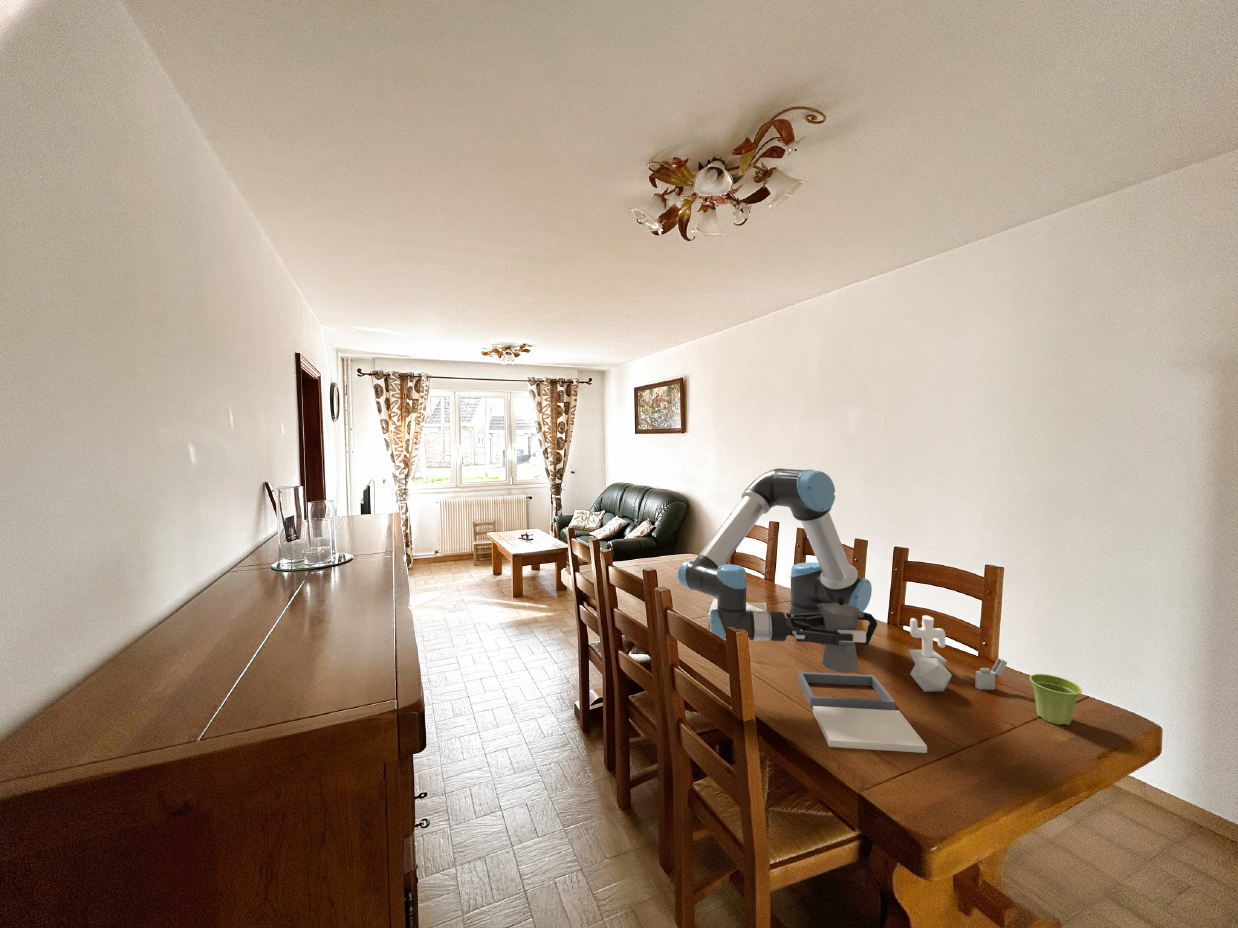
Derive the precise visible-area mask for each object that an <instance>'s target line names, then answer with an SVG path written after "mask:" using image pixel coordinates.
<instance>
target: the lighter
mask: <svg viewBox="0 0 1238 928" xmlns="http://www.w3.org/2000/svg"><path fill="white" fill-rule="evenodd" d="M1007 665H1008V662H1007V661H1006V660H1004V659H1002V658H1000V657H998V658H997V659H996V661H995V663H994V665H993V666H992V668H991V669H990V668H989V667H980V669H979V670H975V678H974V679H975V681H974V682H975V685H974V686H975V687H974V688H977V689H978V690H989V691H991V690H995V689H996V688H995V687H996V675H997V676H999V677H1000V676H1002V673H1003V671H1004V669H1005V668H1006V666H1007Z"/></svg>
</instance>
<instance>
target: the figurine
mask: <svg viewBox="0 0 1238 928" xmlns="http://www.w3.org/2000/svg"><path fill="white" fill-rule="evenodd" d="M921 618H922V619H921V625H922V626H921V627H918V620H917V619H916V618H914V617H911V618H910V621H909V633H910V636H911V637H913V638H914V639H916V638H917V639H921V649H908V653H909V654H910V657H911V658H912V660H913V662H914V665H915V664H916V662H917V660H918V659H922V658H937V659H938V660H939V661H940V662H941V664H942V665H943V666H944V665H945V664H946V663H947V662H948V660H947V659H945V658H944V657H943V656H942V655H940V654H939V653H938V652H936V651H935V650H934V646H933V645H934V639H937V646H938V647H939V648H941V649H942V648H944V649H945V647H946V632H945V630H944V629H943V628H938V627H937V628H936V627H935V628H934V623H935V622H934V621H935V619H934V617H932V616H930V615H928V614H927V615H926V614H925V615H922V617H921Z"/></svg>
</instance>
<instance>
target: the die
mask: <svg viewBox="0 0 1238 928" xmlns="http://www.w3.org/2000/svg"><path fill="white" fill-rule="evenodd" d="M909 675H910V676H911V677H912V678H913V680H914V681H915V682H916V683H917V684H918V686H919V687H920V689H922V691H923V692H925V693H927V692H928V693H929V692H930V693H931V692H933V693H934V692H944V691H945V689H946V688H947V685H948V684H949V682H950V680H951V678H952V676H953V675H952V674H951V673H950V672H949V670H948V669H947V668H946V667H945V666H944V665H942V664H941V662H940V661H939V660H938V659H937V658H922V659H918V660H917V662H916V664H915V663H914V666H913V668H912V670H911V672H910V674H909Z"/></svg>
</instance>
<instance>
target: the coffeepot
mask: <svg viewBox="0 0 1238 928" xmlns="http://www.w3.org/2000/svg"><path fill="white" fill-rule="evenodd" d="M838 600H839V603H830V604H828V603H819V604H817V605H816V606H817V607H818V608H819V609H820V611H821V613H822V615H823V617H824V622H825V629H827V630H832V631H837V632H838V630H858V625H859V620H862V621H868V627H867V630H866V643H865V642H859V643H860V644H861V645H865V646H867V645H868V646H869V644H870V641H871V639H872V637H873V635H874V633H875V631H876V629H877V627H878V622H877V620H876V618H875V617H874V616H873V615H872V614H871V613H867V612H864V611H863V612H862V611H860V609H858V608H856V607H853V606H851V605H848V604H844V600H845V599H844V598H842V597H841V598H838ZM856 648H857V647H856V642H839V646H836V645H828V644H824V648H823V654H822V660H821V664H822V665H823V666H824V667H826V668H827V669H829V670H831V671H834V672H838V673H842V674H852V673H854V672H857V671H858V670H859V662H858V656H857V649H856Z"/></svg>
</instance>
